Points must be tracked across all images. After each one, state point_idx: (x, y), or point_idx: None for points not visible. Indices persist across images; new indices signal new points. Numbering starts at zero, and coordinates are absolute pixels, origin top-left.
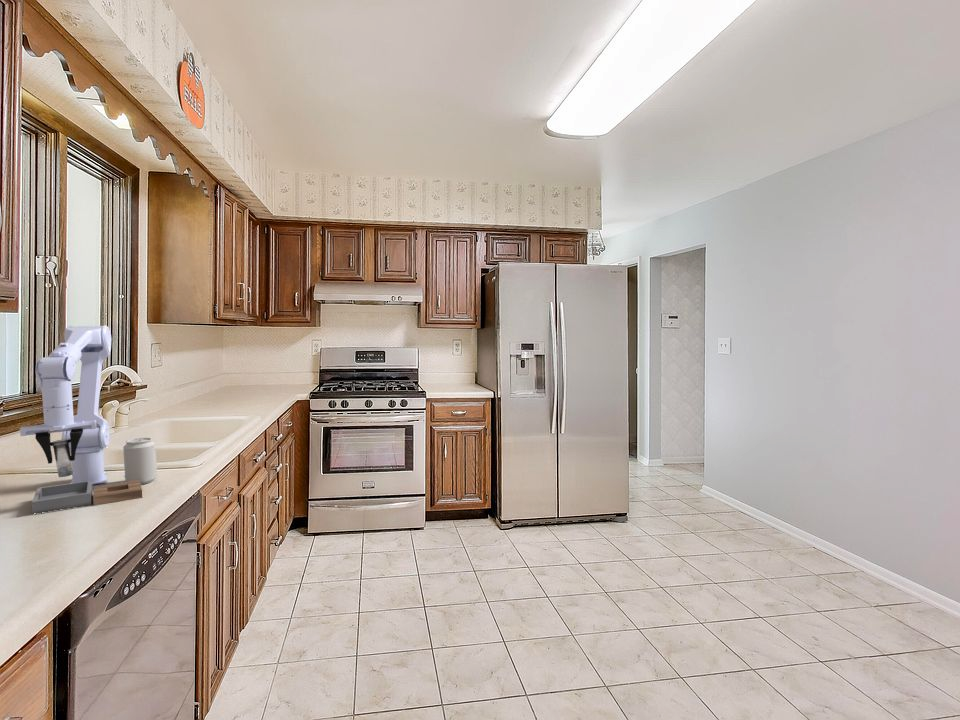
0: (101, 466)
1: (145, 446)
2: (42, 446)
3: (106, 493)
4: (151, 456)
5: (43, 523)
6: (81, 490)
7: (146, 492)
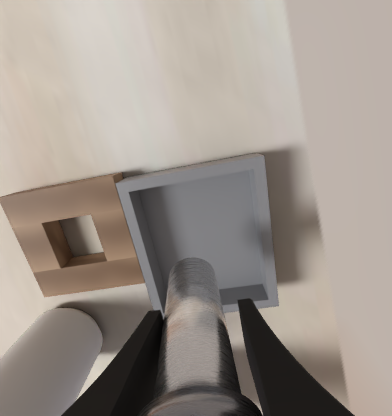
0: None
1: None
2: (311, 383)
3: (88, 201)
4: None
5: (206, 45)
6: None
7: None
